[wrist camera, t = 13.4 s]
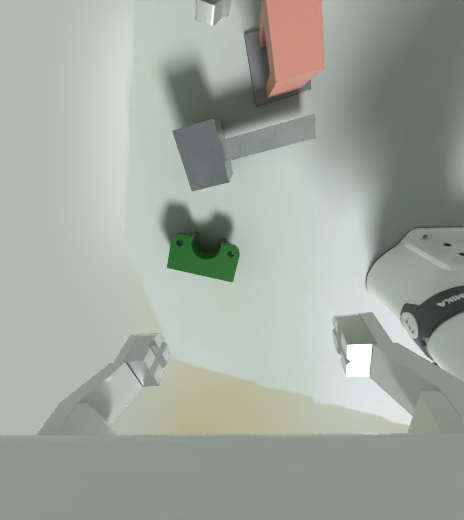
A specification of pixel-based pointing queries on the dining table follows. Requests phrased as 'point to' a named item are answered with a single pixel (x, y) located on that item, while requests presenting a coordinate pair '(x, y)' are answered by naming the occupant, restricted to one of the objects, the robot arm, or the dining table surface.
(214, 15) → the lighter
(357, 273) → the dining table surface
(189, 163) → the vise
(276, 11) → the tall salmon pink brick
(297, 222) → the dining table surface
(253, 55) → the mat
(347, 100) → the dining table surface
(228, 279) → the clamp
